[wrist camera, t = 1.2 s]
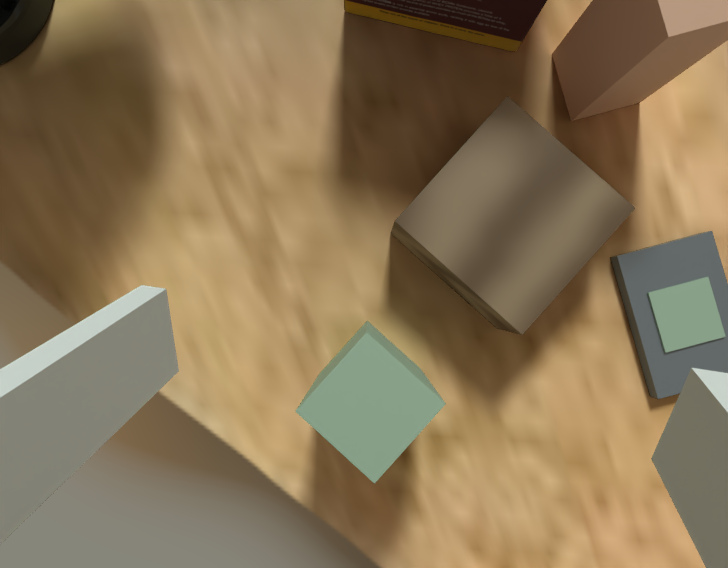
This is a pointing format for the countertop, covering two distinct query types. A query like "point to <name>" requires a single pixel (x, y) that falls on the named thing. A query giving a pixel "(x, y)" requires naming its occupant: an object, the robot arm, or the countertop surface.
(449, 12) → the supplement box
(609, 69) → the terracotta block
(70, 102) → the countertop surface
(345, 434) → the sage block
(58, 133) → the countertop surface
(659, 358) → the tile
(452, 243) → the walnut block
